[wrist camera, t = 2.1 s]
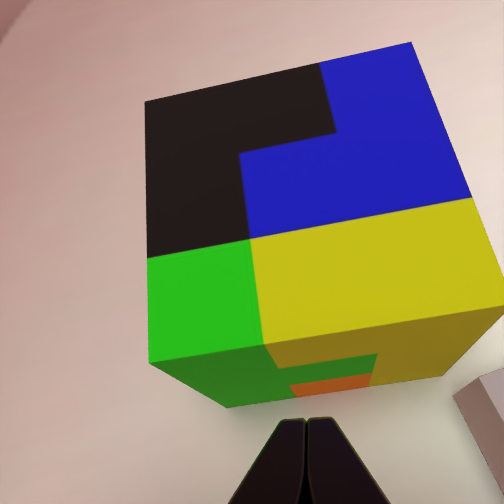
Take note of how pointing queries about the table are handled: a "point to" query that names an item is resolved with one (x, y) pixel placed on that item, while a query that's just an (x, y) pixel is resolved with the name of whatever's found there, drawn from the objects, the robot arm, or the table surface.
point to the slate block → (486, 418)
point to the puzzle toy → (311, 233)
